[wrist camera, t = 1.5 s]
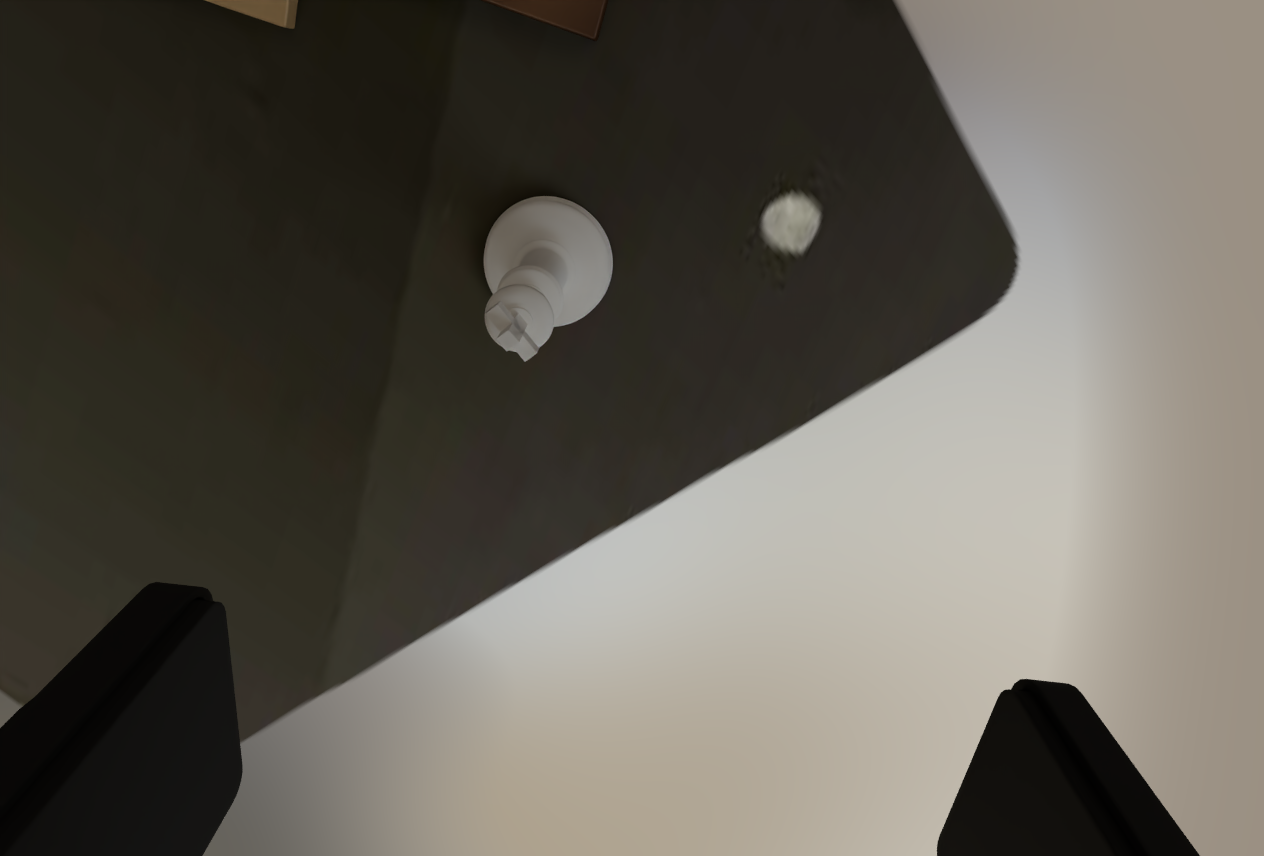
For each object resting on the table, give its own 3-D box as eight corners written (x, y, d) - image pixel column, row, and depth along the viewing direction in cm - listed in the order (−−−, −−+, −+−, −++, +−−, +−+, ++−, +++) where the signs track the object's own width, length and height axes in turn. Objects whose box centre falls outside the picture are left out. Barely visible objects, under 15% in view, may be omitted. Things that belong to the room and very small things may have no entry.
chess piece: (558, 168, 28) (520, 206, 19) (638, 276, 30) (637, 360, 20) (458, 248, 29) (375, 321, 20) (539, 347, 31) (497, 457, 22)
